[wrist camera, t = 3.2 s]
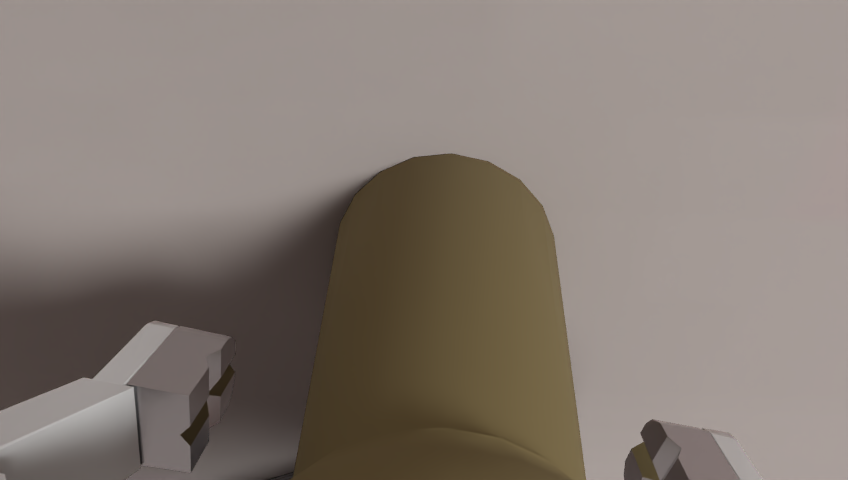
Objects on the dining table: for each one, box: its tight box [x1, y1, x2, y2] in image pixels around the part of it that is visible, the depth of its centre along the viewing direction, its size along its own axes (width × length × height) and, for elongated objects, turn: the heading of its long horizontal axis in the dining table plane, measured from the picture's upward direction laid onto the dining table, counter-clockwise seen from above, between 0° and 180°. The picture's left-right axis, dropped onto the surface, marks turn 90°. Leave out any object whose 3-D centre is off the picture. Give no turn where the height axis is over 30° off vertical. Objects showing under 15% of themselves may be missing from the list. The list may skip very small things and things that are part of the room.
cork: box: [290, 154, 586, 480], centre depth 8 cm, size 6×6×11 cm
